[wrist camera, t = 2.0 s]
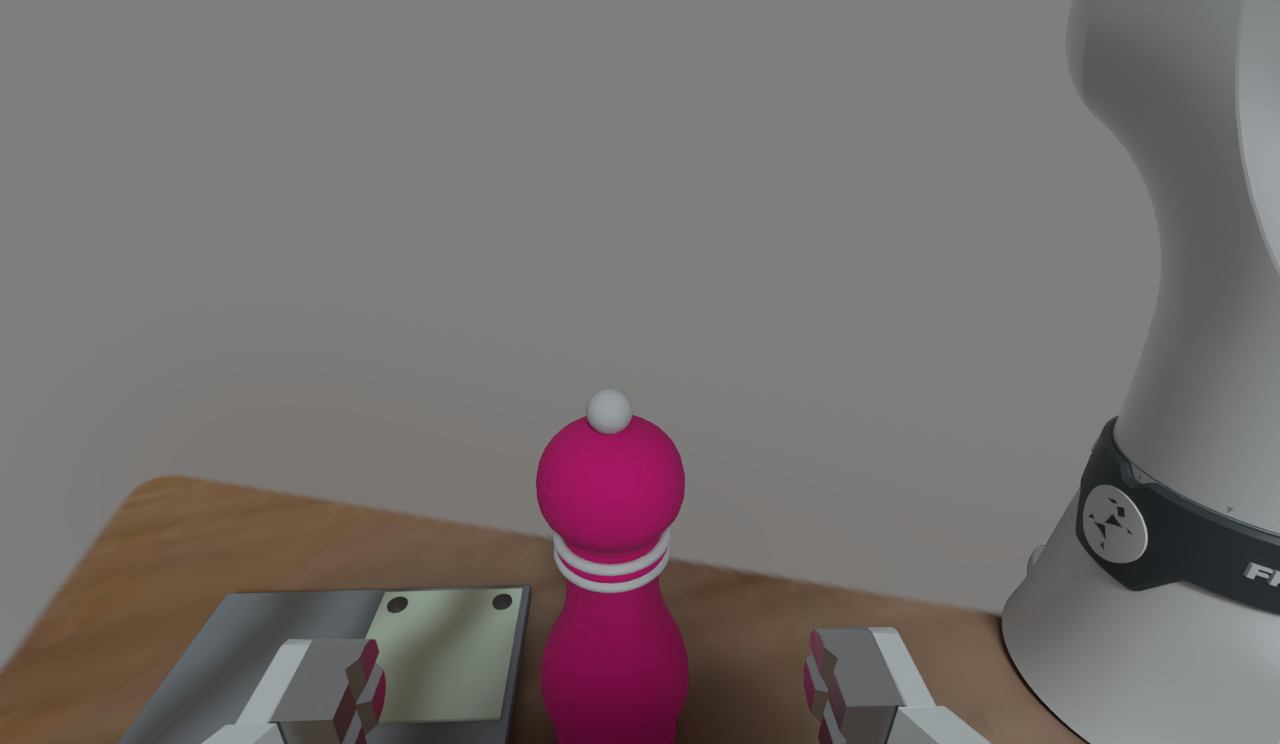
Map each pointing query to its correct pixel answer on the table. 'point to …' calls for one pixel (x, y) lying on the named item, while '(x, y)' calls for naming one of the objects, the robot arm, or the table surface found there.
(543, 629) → the table surface
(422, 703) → the tile board
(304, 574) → the table surface
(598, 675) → the pepper mill
